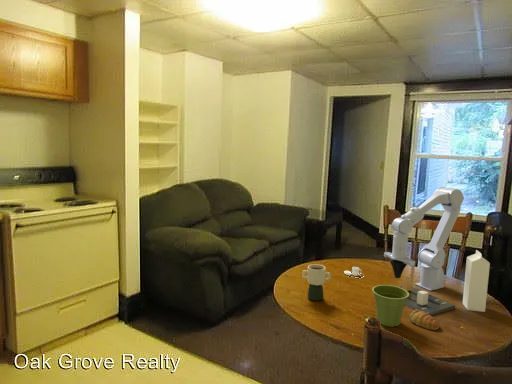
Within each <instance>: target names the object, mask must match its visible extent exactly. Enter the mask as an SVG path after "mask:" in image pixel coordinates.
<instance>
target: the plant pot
mask: <svg viewBox="0 0 512 384" xmlns="http://www.w3.org/2000/svg"><path fill="white" fill-rule="evenodd" d="M400 287H401V286H396V285H391V284H379V285H376V286H373V287H372V293H373V296H374V299H375V308H376V317H377V320H378V319H379V320H380V321H381V323H380V324H381V326H385V327H390V328H393V327H398V326H400V324H401V321H402V320H401V319H402V317H403V312H404V308H405V306H406V305H405V302H406V299H407V297H408V296H409V293H408V292H407V291H406V290H404V289H402V288H400Z"/></svg>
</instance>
